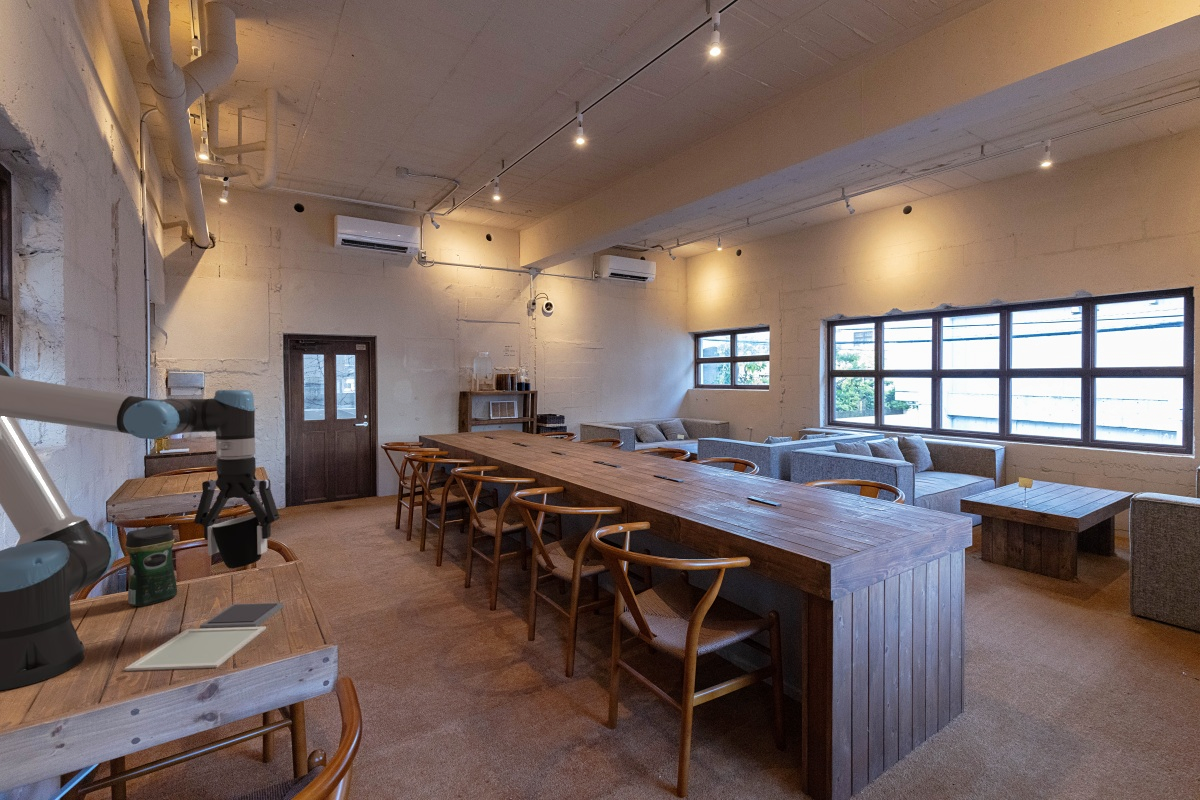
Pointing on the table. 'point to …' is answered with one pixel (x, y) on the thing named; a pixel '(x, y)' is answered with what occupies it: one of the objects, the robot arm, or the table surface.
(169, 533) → the coffee jar
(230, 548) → the mug
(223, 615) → the ink pad
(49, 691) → the table surface
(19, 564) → the robot arm
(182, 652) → the marked square
